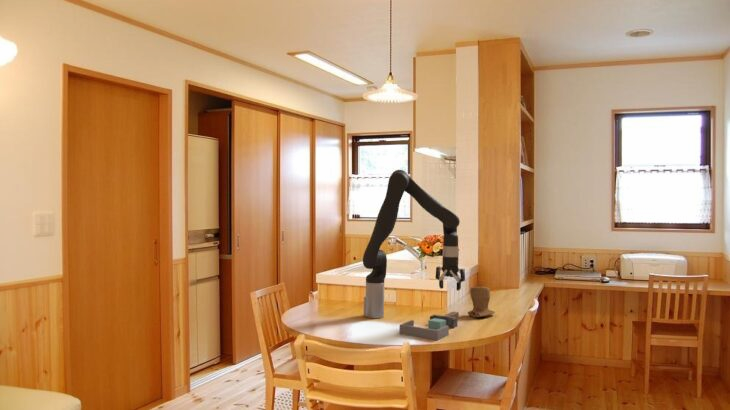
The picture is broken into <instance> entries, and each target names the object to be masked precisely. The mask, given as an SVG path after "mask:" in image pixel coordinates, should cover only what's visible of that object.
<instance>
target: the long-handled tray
mask: <svg viewBox="0 0 730 410" xmlns="http://www.w3.org/2000/svg"><path fill="white" fill-rule="evenodd" d="M434 318H437V319H443V320H446V325H447V326H449V327H451V329H454V328H457V327H458V322H459V312H458V311H450V312H449V313H446V314H443V315H441V314H432V315H429V320H431V319H434Z"/></svg>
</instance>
